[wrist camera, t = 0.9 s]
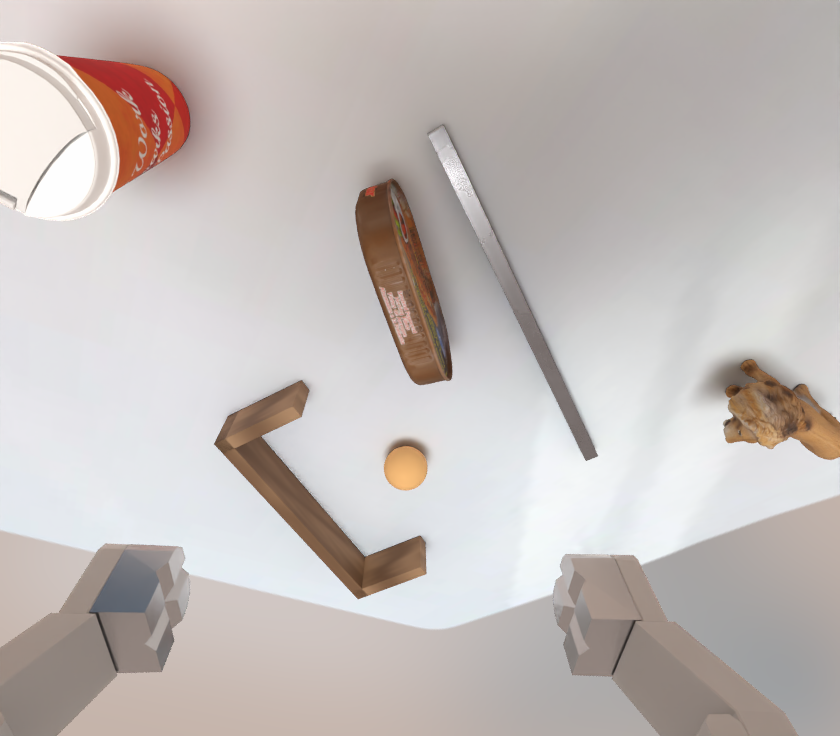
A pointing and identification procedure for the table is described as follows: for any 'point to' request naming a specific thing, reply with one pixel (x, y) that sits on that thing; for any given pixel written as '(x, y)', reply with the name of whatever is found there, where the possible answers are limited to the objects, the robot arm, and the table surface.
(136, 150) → the paper cup
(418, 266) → the tin
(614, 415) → the table surface
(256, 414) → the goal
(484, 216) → the rail
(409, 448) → the ball
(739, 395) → the lion figurine
